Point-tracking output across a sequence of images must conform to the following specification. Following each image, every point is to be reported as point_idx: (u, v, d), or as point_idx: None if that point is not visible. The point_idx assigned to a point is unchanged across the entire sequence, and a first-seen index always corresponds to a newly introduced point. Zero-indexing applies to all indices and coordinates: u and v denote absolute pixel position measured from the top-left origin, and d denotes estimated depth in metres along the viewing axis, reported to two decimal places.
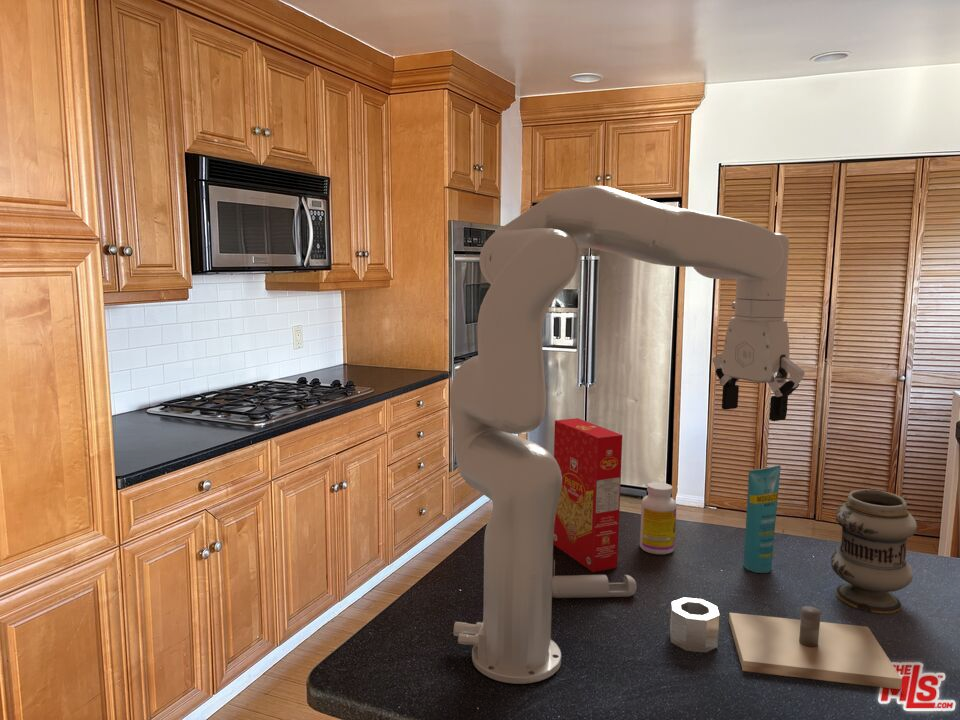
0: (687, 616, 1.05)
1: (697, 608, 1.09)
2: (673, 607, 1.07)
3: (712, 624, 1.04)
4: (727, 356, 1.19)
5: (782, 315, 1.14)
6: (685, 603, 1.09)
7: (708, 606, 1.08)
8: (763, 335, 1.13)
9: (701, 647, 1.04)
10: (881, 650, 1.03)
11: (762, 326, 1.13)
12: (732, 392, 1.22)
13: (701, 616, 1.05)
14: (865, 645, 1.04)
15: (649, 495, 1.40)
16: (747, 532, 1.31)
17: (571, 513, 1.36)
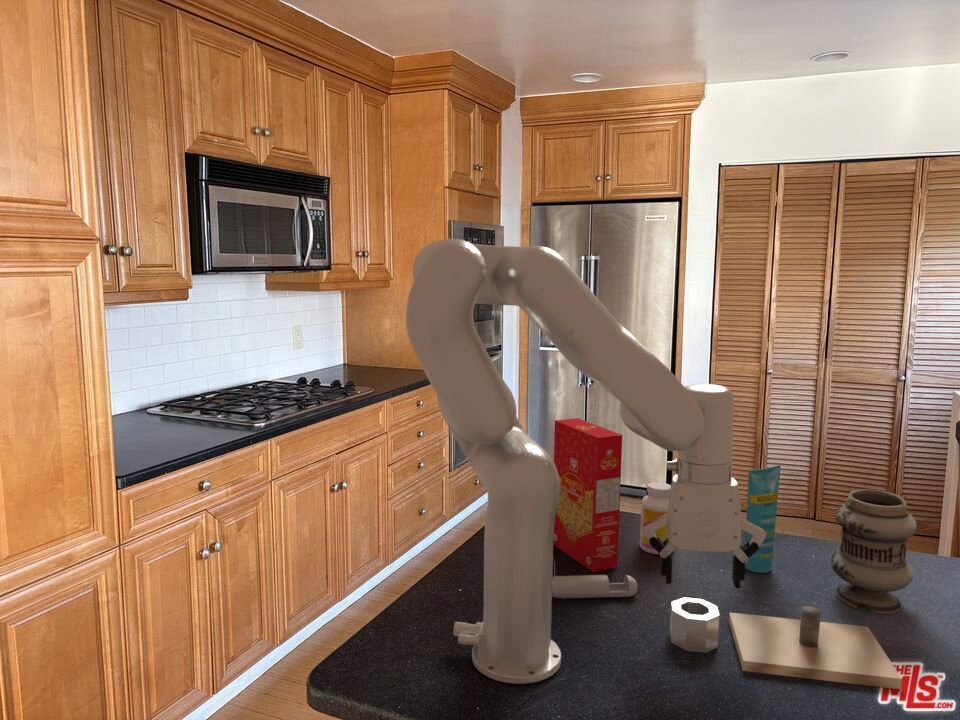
0: (687, 616, 1.05)
1: (697, 608, 1.09)
2: (673, 607, 1.07)
3: (712, 624, 1.04)
4: (679, 527, 1.03)
5: None
6: (685, 603, 1.09)
7: (708, 606, 1.08)
8: (729, 500, 1.02)
9: (701, 647, 1.04)
10: (881, 650, 1.03)
11: (727, 491, 1.01)
12: None
13: (701, 616, 1.05)
14: (865, 645, 1.04)
15: (649, 495, 1.40)
16: (747, 532, 1.31)
17: (571, 513, 1.36)
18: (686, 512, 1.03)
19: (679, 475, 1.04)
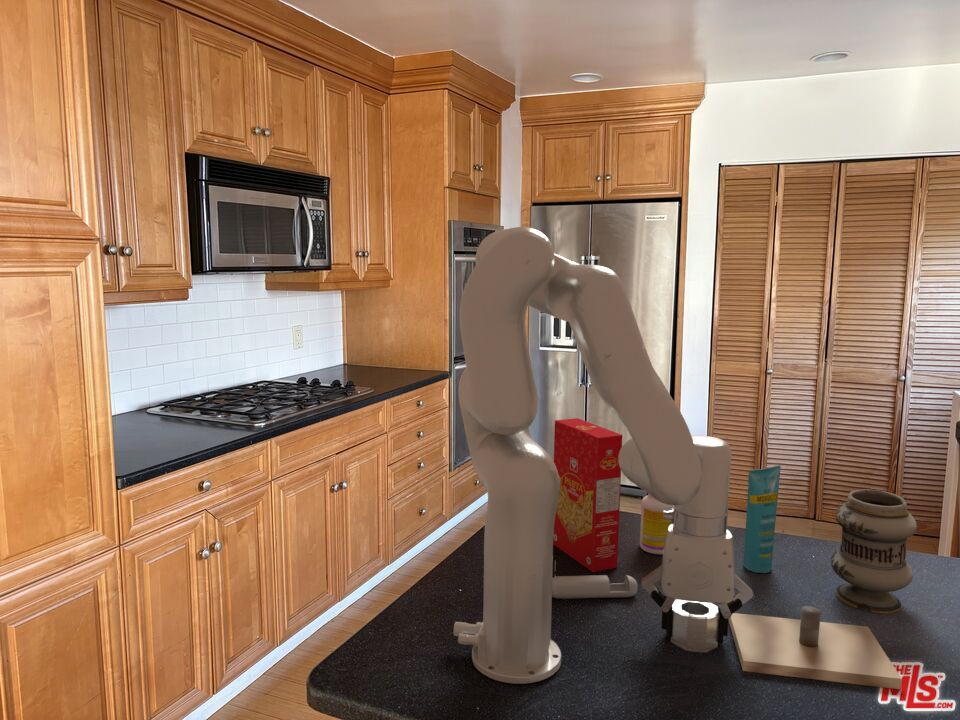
0: (687, 616, 1.05)
1: (697, 608, 1.09)
2: (673, 607, 1.07)
3: (712, 624, 1.04)
4: (673, 577, 1.04)
5: None
6: (685, 603, 1.09)
7: (708, 606, 1.08)
8: (723, 553, 1.03)
9: (701, 647, 1.04)
10: (881, 650, 1.03)
11: (721, 544, 1.02)
12: None
13: (701, 616, 1.05)
14: (865, 645, 1.04)
15: (649, 495, 1.40)
16: (747, 532, 1.31)
17: (571, 513, 1.36)
18: (680, 563, 1.04)
19: (675, 526, 1.05)
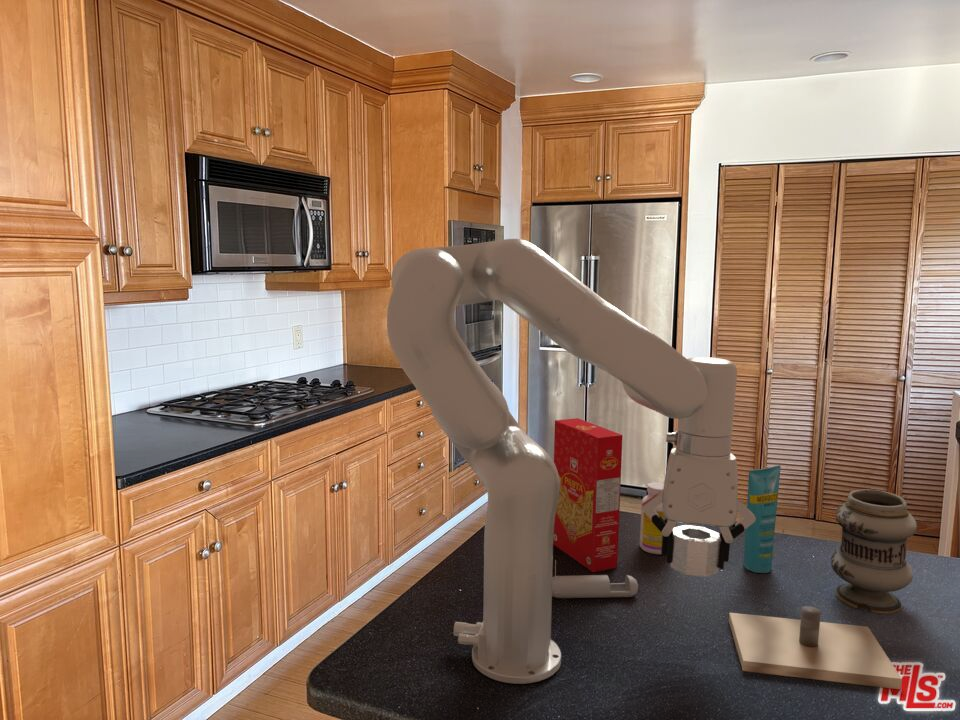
0: (688, 539, 1.03)
1: (698, 535, 1.07)
2: (674, 532, 1.05)
3: (713, 548, 1.03)
4: (674, 499, 1.03)
5: None
6: (686, 530, 1.07)
7: (709, 532, 1.06)
8: (726, 474, 1.01)
9: (701, 571, 1.03)
10: (881, 650, 1.03)
11: (725, 465, 1.01)
12: None
13: (702, 540, 1.03)
14: (865, 645, 1.04)
15: (649, 495, 1.40)
16: (747, 532, 1.31)
17: (571, 513, 1.36)
18: (683, 484, 1.02)
19: (678, 447, 1.03)
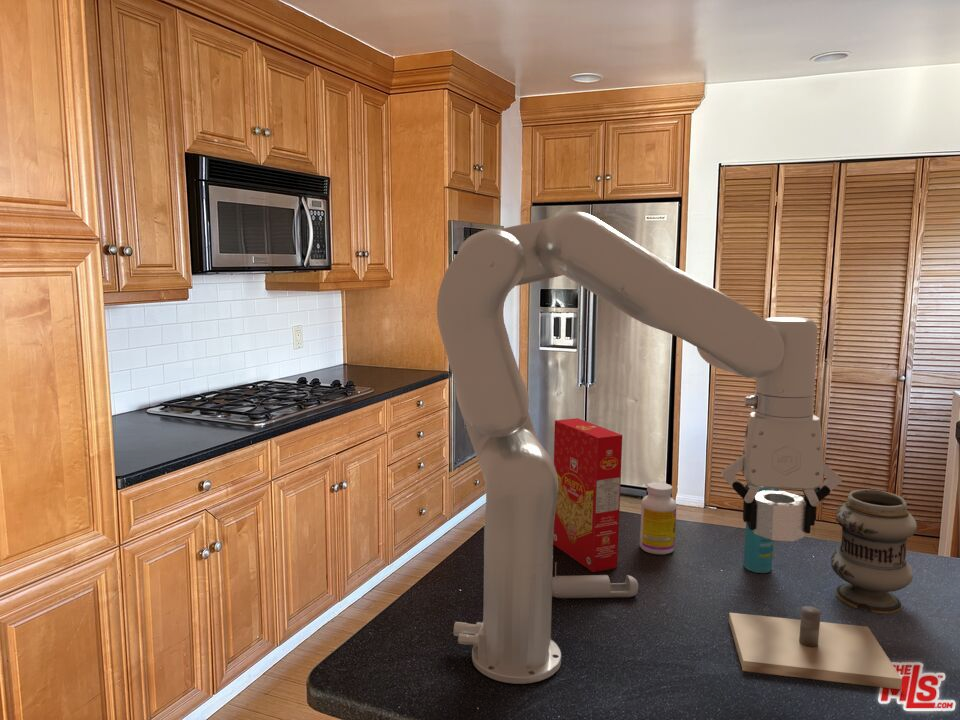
0: (773, 504, 1.00)
1: (780, 500, 1.05)
2: (756, 497, 1.03)
3: (799, 511, 1.00)
4: (757, 464, 1.00)
5: None
6: (767, 495, 1.04)
7: (792, 496, 1.03)
8: (811, 436, 0.98)
9: (788, 536, 1.00)
10: (881, 650, 1.03)
11: (809, 426, 0.98)
12: None
13: (787, 504, 1.00)
14: (865, 645, 1.04)
15: (649, 495, 1.40)
16: (747, 532, 1.31)
17: (571, 513, 1.36)
18: (766, 448, 0.99)
19: (758, 410, 1.00)
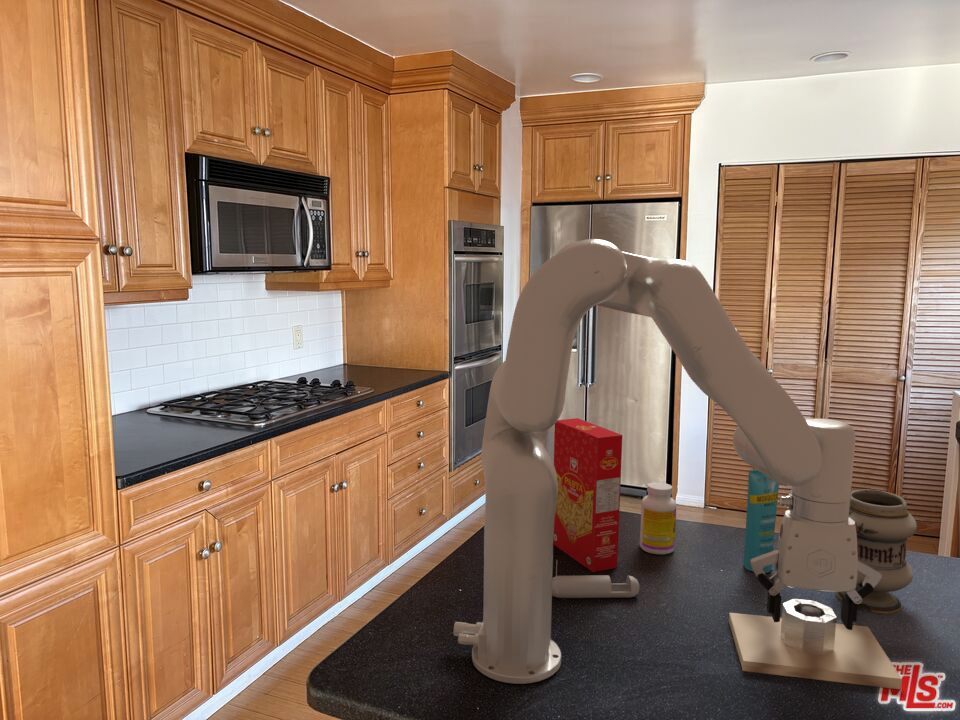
0: (804, 618, 1.01)
1: None
2: (786, 609, 1.04)
3: (830, 626, 1.01)
4: (792, 565, 1.01)
5: None
6: (797, 605, 1.06)
7: (822, 608, 1.04)
8: (847, 540, 0.99)
9: (819, 650, 1.01)
10: (881, 650, 1.03)
11: (845, 530, 0.99)
12: None
13: (818, 618, 1.01)
14: (865, 645, 1.04)
15: (649, 495, 1.40)
16: (747, 532, 1.31)
17: (571, 513, 1.36)
18: (801, 550, 1.00)
19: (794, 511, 1.01)
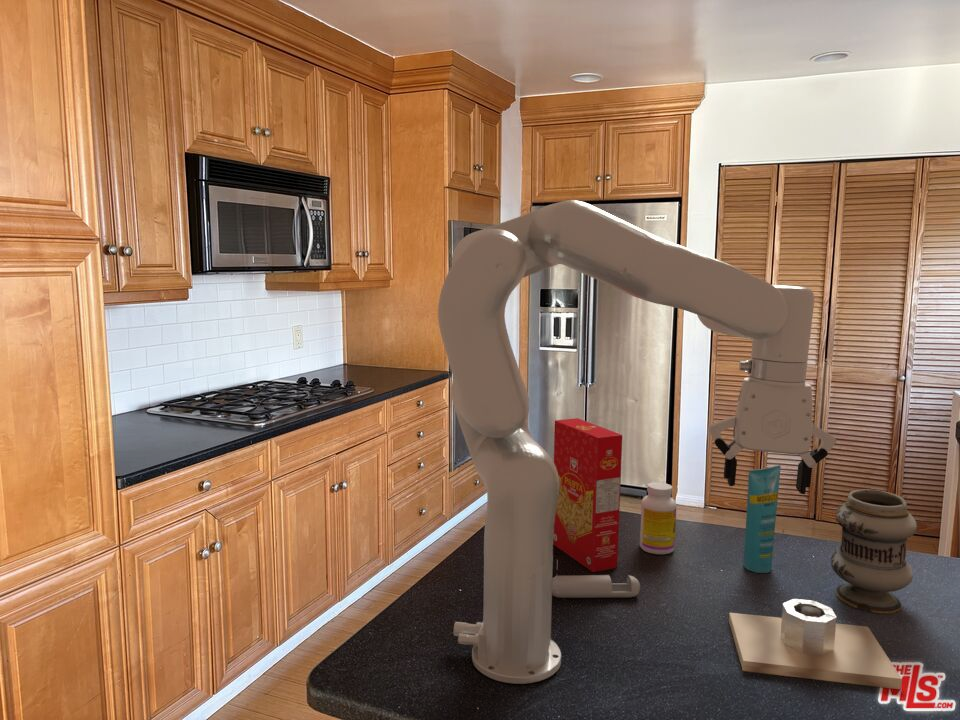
0: (804, 618, 1.01)
1: None
2: (786, 609, 1.04)
3: (830, 626, 1.01)
4: (748, 426, 1.02)
5: None
6: (797, 605, 1.06)
7: (822, 608, 1.04)
8: (802, 401, 1.01)
9: (819, 650, 1.01)
10: (881, 650, 1.03)
11: (800, 392, 1.00)
12: None
13: (818, 618, 1.01)
14: (865, 645, 1.04)
15: (649, 495, 1.40)
16: (747, 532, 1.31)
17: (571, 513, 1.36)
18: (757, 411, 1.02)
19: (752, 374, 1.03)
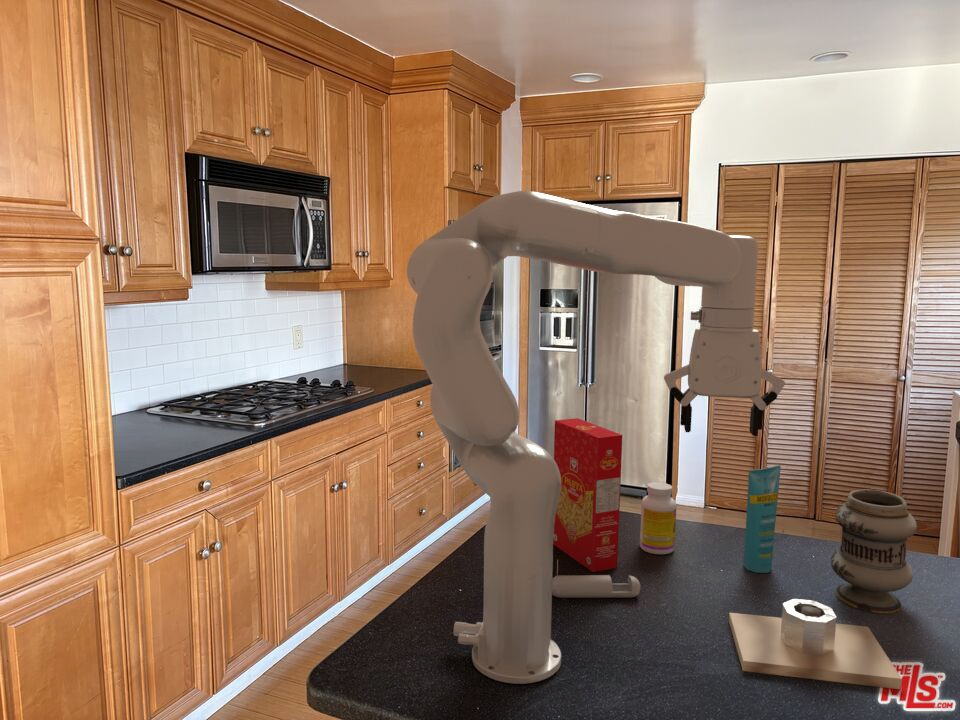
0: (804, 618, 1.01)
1: None
2: (786, 609, 1.04)
3: (830, 626, 1.01)
4: (700, 373, 1.06)
5: None
6: (797, 605, 1.06)
7: (822, 608, 1.04)
8: (750, 346, 1.05)
9: (819, 650, 1.01)
10: (881, 650, 1.03)
11: (748, 337, 1.05)
12: None
13: (818, 618, 1.01)
14: (865, 645, 1.04)
15: (649, 495, 1.40)
16: (747, 532, 1.31)
17: (571, 513, 1.36)
18: (708, 358, 1.06)
19: (702, 323, 1.07)
